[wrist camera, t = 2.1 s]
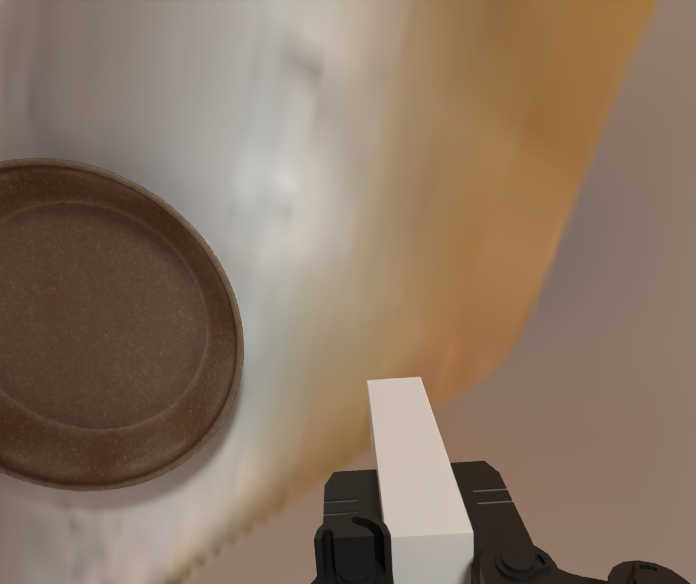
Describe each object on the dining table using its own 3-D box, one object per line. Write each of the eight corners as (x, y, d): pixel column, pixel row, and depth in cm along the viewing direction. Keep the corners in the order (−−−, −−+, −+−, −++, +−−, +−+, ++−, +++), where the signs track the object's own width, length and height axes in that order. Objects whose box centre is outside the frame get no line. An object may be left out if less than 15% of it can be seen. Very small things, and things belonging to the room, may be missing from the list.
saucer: (203, 495, 29) (190, 532, 26) (-96, 409, 27) (-142, 439, 25) (293, 222, 25) (288, 233, 23) (-48, 104, 24) (-95, 101, 21)
